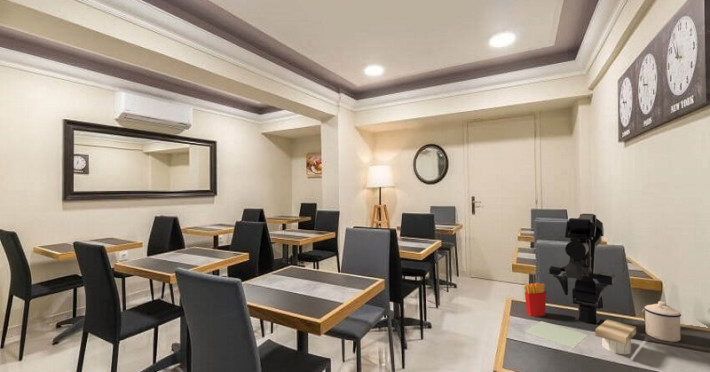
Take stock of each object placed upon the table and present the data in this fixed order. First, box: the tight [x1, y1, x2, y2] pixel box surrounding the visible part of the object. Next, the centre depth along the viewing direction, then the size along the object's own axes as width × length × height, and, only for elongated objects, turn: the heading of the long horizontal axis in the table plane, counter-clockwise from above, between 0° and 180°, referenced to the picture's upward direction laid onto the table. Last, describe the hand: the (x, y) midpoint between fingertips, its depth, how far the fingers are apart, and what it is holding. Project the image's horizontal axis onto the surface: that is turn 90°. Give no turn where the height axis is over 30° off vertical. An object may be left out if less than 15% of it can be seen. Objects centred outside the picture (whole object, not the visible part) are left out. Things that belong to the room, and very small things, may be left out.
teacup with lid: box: [641, 300, 682, 343], centre depth 111 cm, size 12×9×12 cm
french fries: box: [523, 282, 547, 318], centre depth 128 cm, size 9×4×13 cm, turn 106°
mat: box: [523, 320, 589, 349], centre depth 111 cm, size 14×15×1 cm
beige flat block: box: [594, 319, 637, 345], centre depth 100 cm, size 12×7×2 cm, turn 128°
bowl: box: [601, 338, 632, 355], centre depth 100 cm, size 7×7×5 cm
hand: (581, 298), depth 113 cm, fingers open, 9 cm apart
